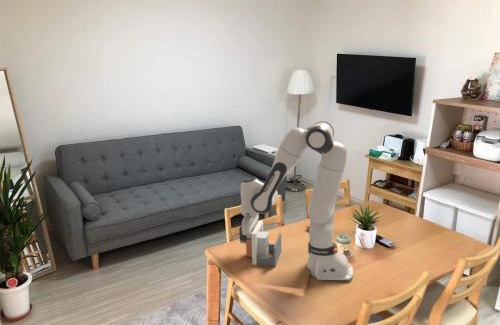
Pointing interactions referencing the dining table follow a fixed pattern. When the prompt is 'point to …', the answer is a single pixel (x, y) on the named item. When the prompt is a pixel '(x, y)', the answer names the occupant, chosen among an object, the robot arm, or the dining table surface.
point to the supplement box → (262, 244)
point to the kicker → (246, 240)
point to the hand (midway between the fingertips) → (250, 235)
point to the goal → (272, 247)
